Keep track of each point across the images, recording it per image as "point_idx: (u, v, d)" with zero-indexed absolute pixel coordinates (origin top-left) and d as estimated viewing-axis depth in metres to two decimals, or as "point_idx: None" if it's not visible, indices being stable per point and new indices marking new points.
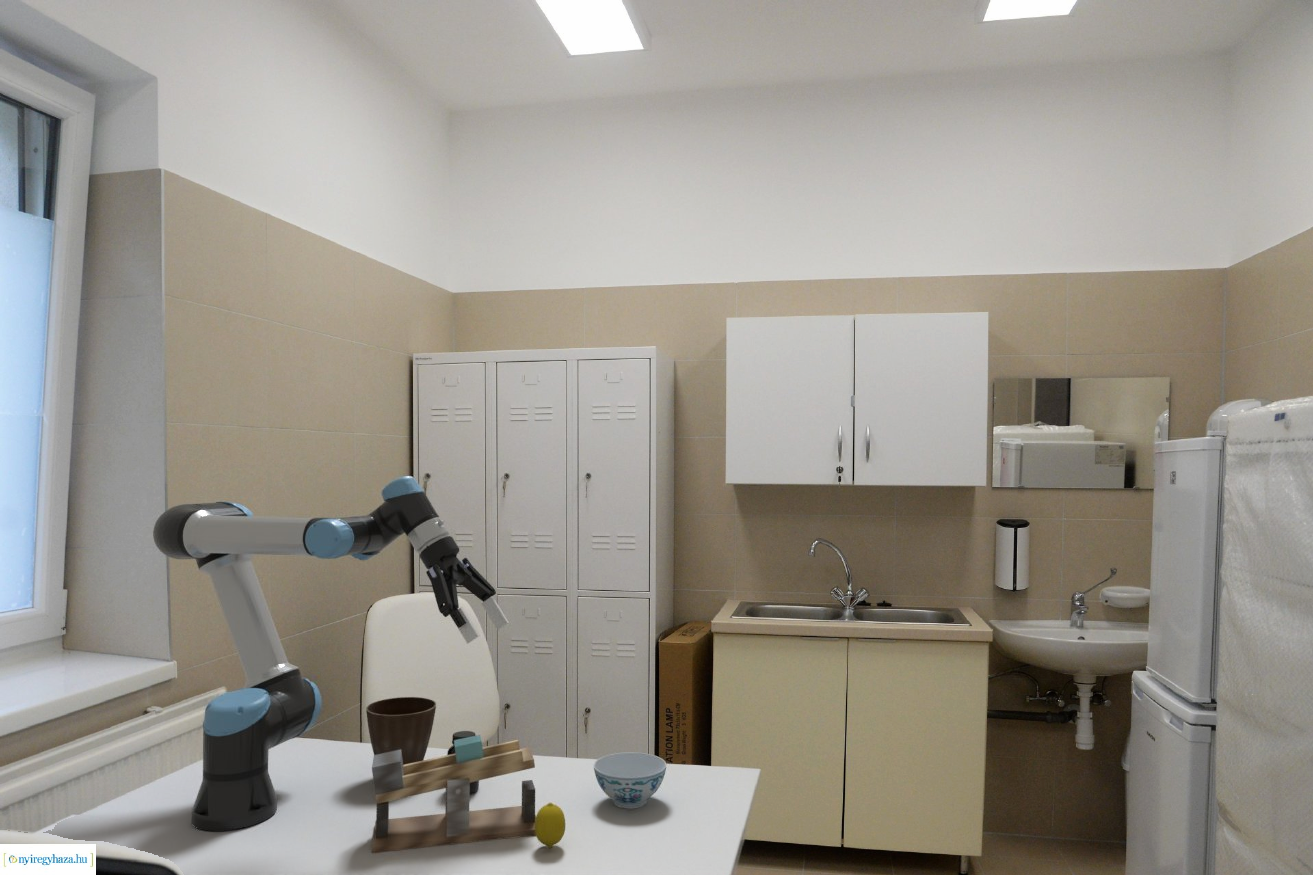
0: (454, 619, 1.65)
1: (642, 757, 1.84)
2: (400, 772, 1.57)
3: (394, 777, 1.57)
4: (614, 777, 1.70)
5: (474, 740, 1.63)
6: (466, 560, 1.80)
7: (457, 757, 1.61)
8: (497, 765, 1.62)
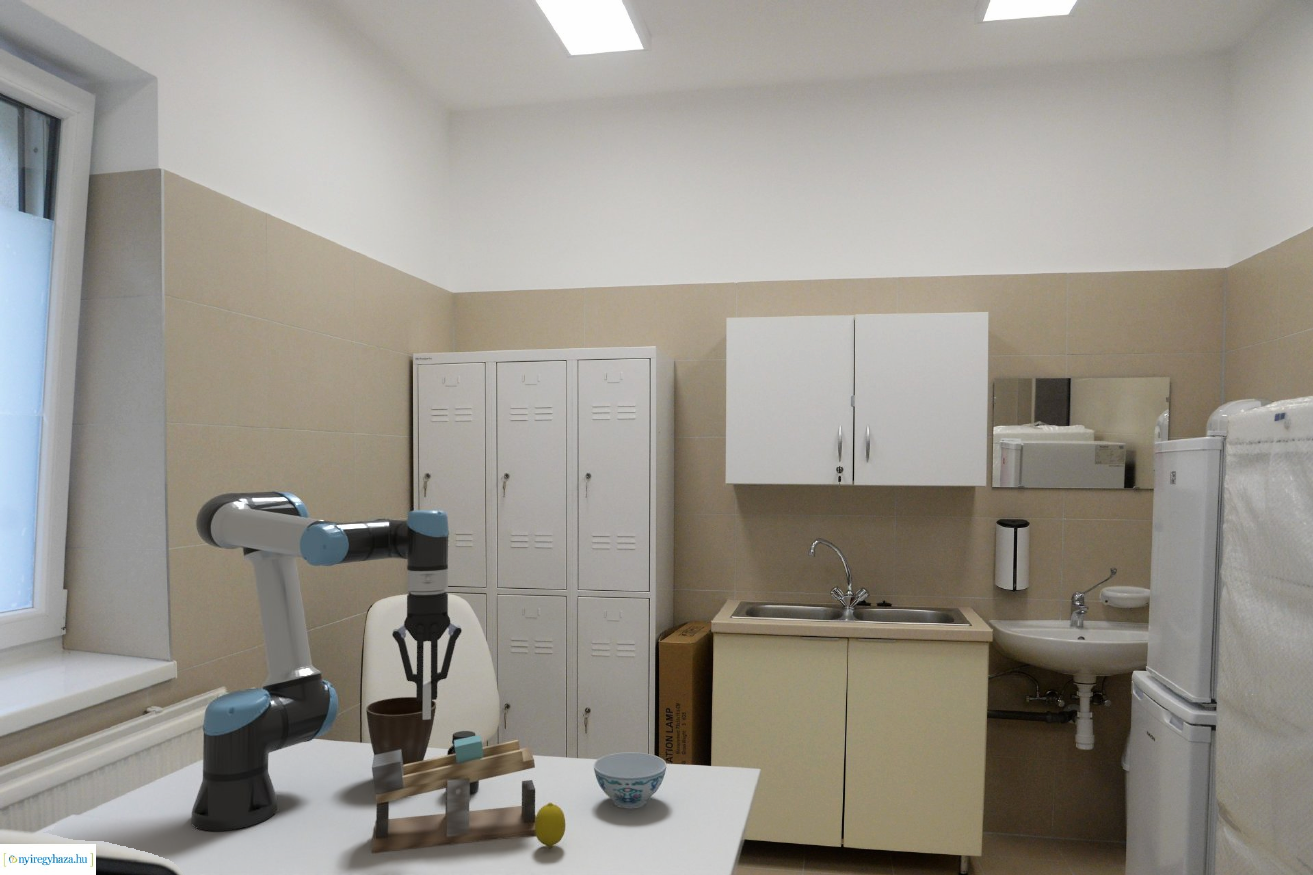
0: None
1: (642, 757, 1.84)
2: (400, 772, 1.57)
3: (394, 777, 1.57)
4: (614, 777, 1.70)
5: (474, 740, 1.63)
6: (456, 630, 1.63)
7: (457, 757, 1.61)
8: (497, 765, 1.62)
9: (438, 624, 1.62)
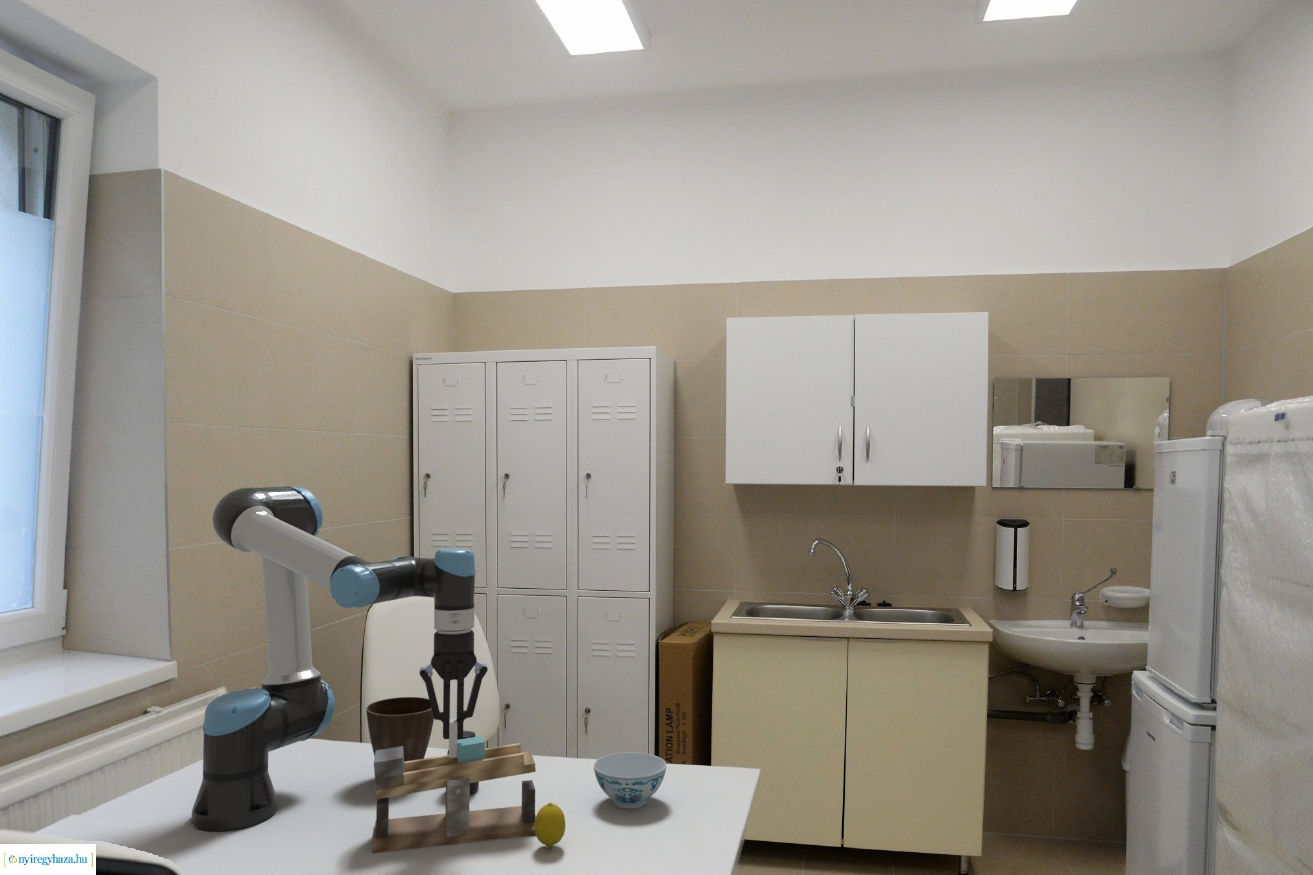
0: None
1: (642, 757, 1.84)
2: (401, 769, 1.57)
3: (395, 773, 1.57)
4: (614, 777, 1.70)
5: (476, 741, 1.63)
6: (483, 669, 1.64)
7: (459, 757, 1.61)
8: (498, 767, 1.62)
9: (465, 663, 1.63)
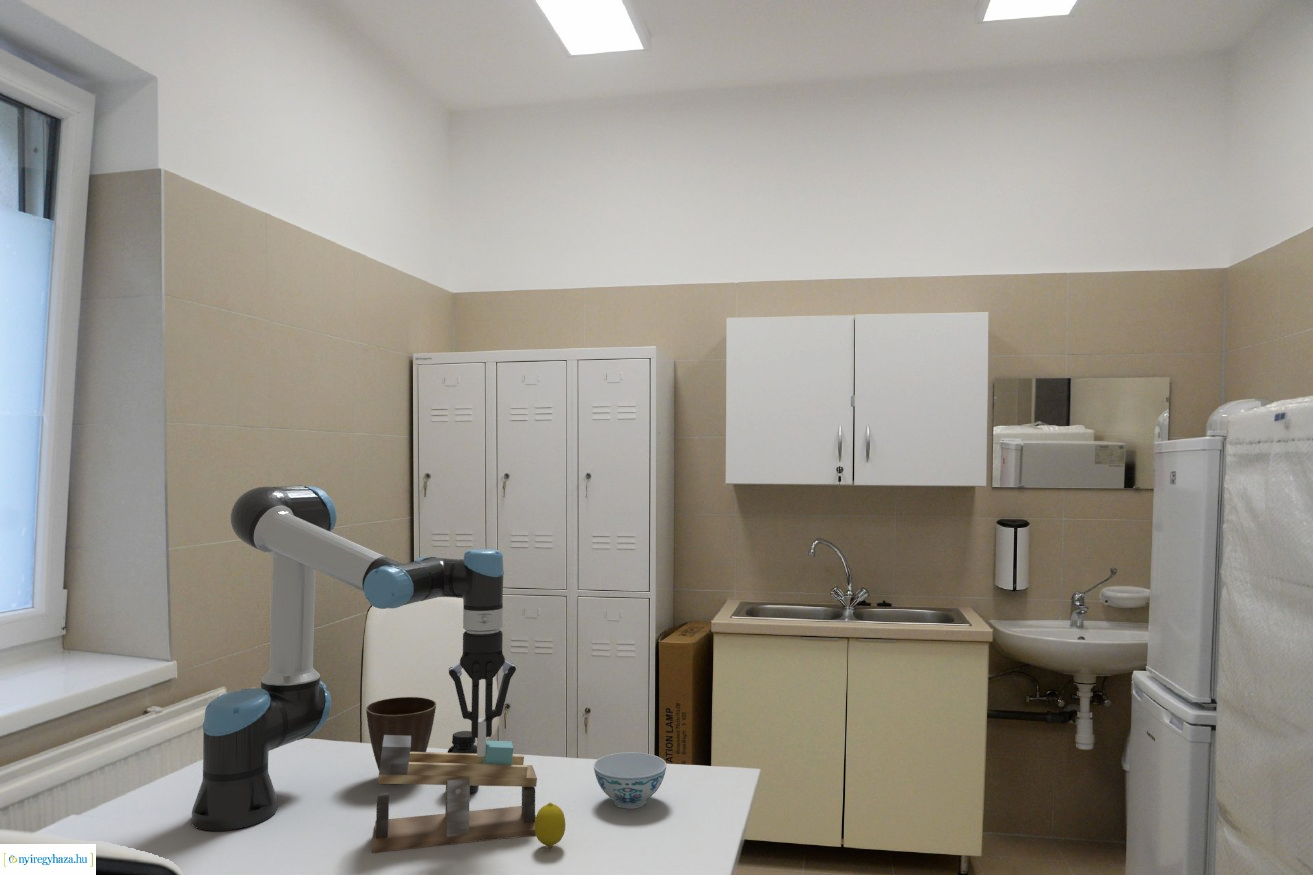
0: (471, 727, 1.64)
1: (642, 757, 1.84)
2: (408, 758, 1.57)
3: (401, 761, 1.57)
4: (614, 777, 1.70)
5: (506, 745, 1.65)
6: (511, 669, 1.65)
7: (487, 757, 1.63)
8: (501, 775, 1.62)
9: (493, 662, 1.64)
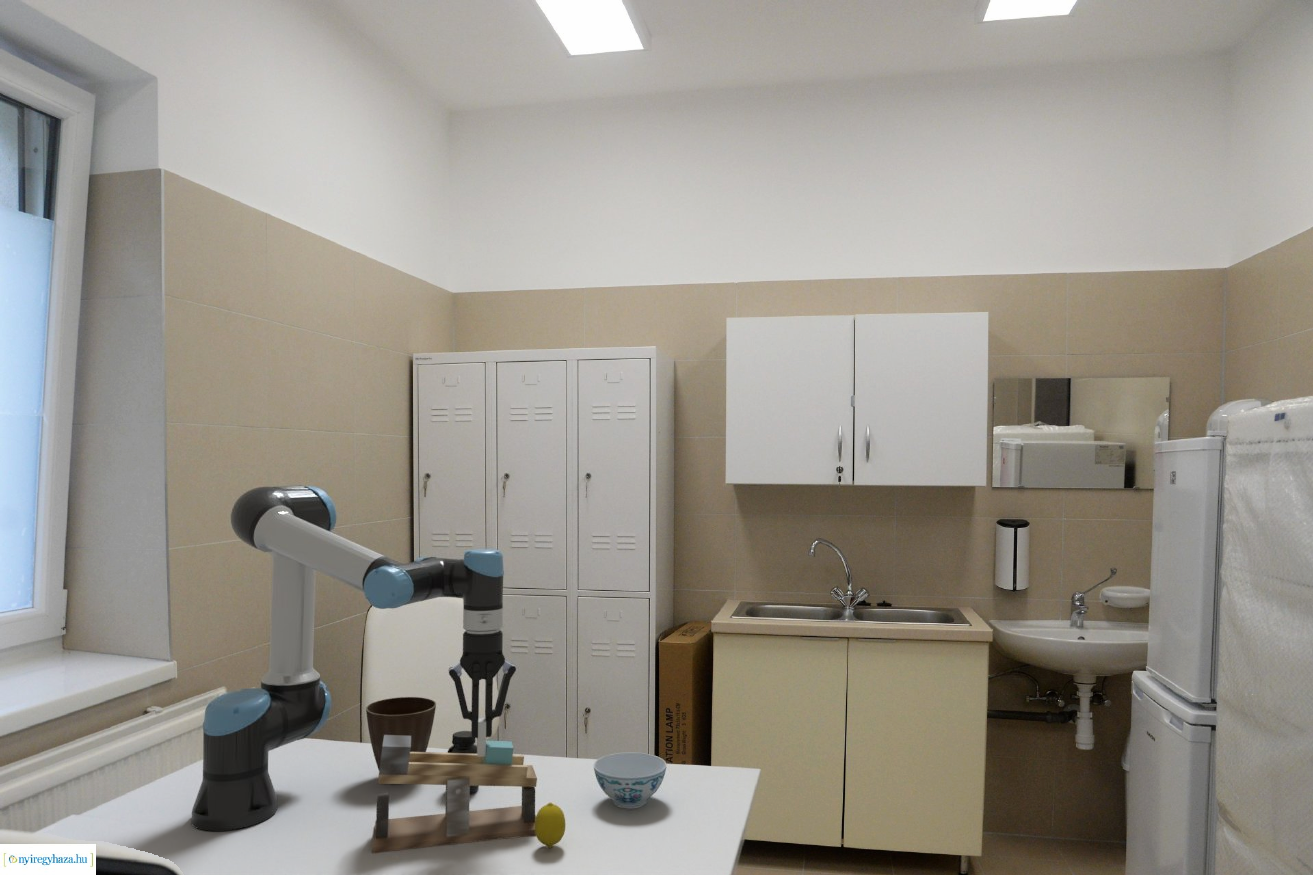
0: (471, 727, 1.64)
1: (642, 757, 1.84)
2: (408, 758, 1.57)
3: (401, 761, 1.57)
4: (614, 777, 1.70)
5: (506, 746, 1.65)
6: (511, 669, 1.65)
7: (487, 757, 1.63)
8: (501, 775, 1.62)
9: (493, 662, 1.64)
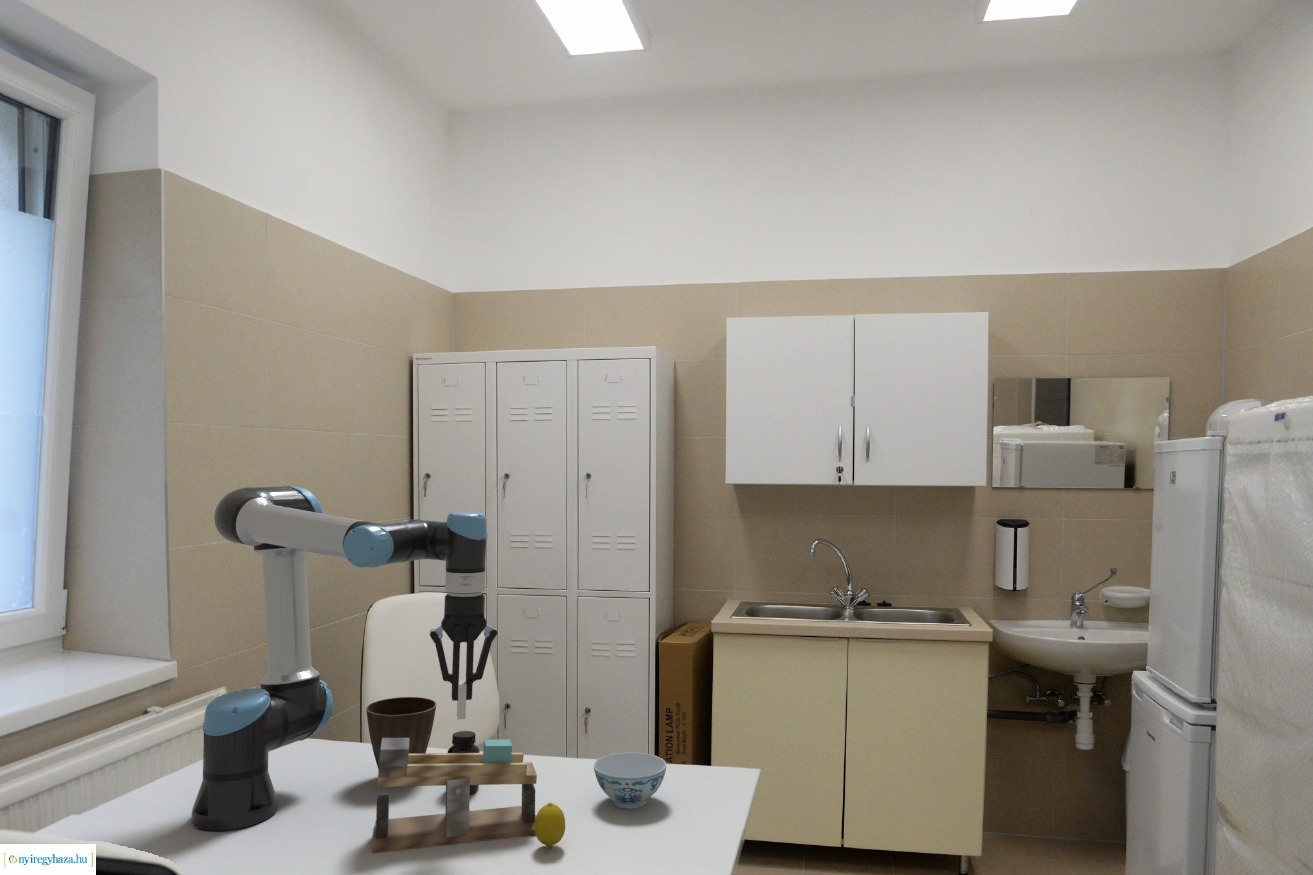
0: None
1: (642, 757, 1.84)
2: (406, 760, 1.57)
3: (399, 764, 1.57)
4: (614, 777, 1.70)
5: (505, 744, 1.65)
6: (492, 632, 1.65)
7: (486, 756, 1.63)
8: (500, 773, 1.62)
9: (475, 625, 1.64)
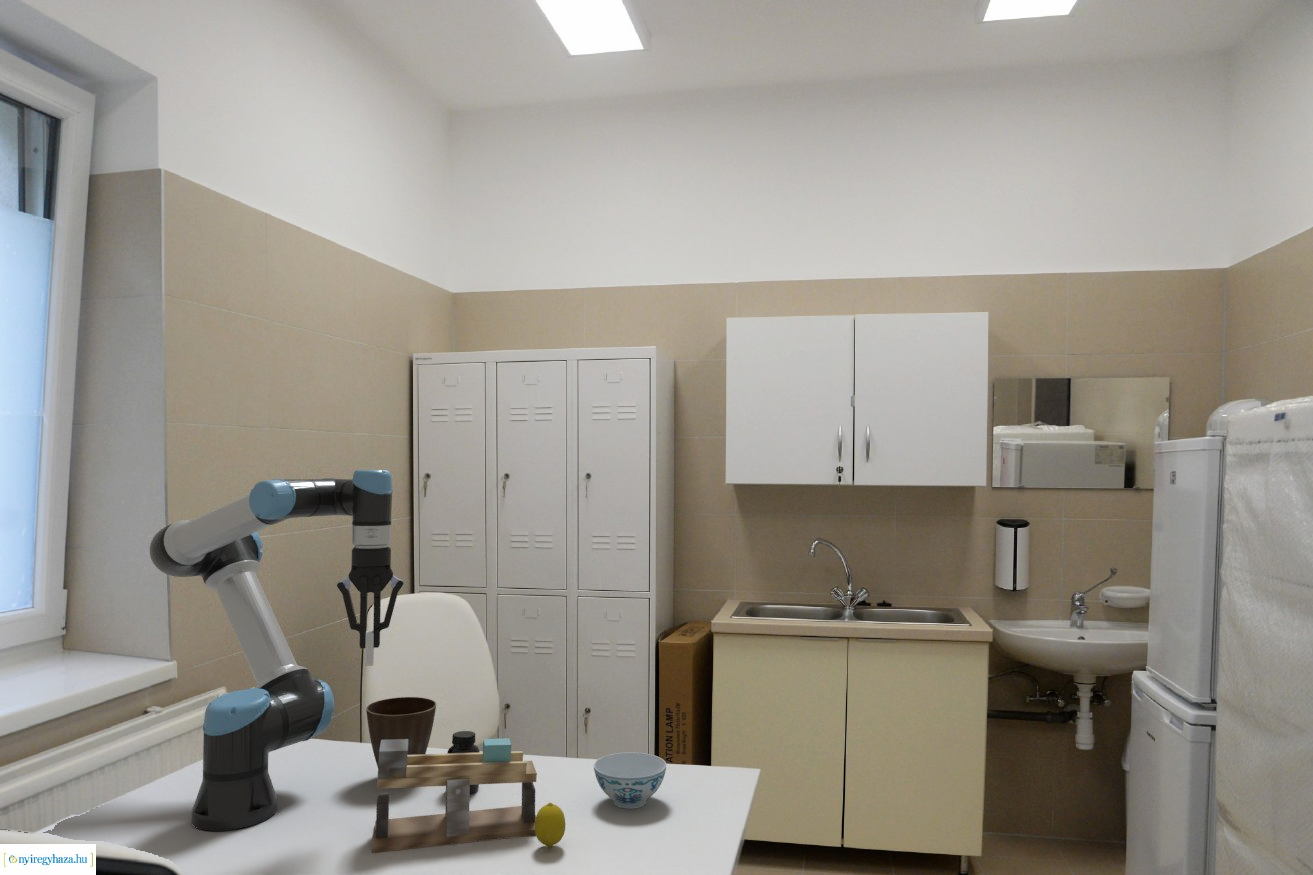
0: None
1: (642, 757, 1.84)
2: (405, 761, 1.57)
3: (399, 765, 1.57)
4: (614, 777, 1.70)
5: (504, 743, 1.65)
6: (398, 583, 1.73)
7: (485, 756, 1.63)
8: (500, 772, 1.62)
9: (381, 576, 1.72)
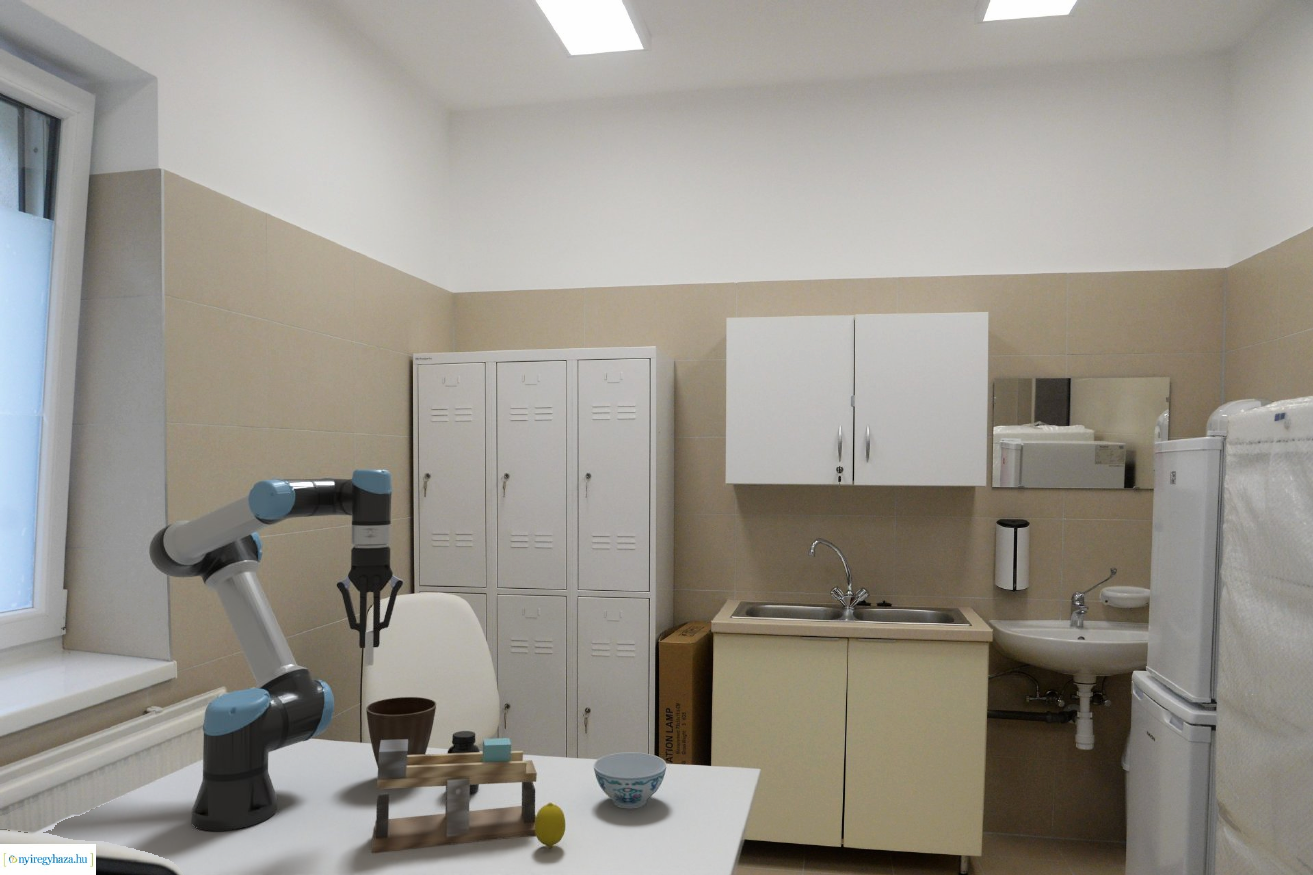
0: None
1: (642, 757, 1.84)
2: (405, 761, 1.57)
3: (398, 765, 1.57)
4: (614, 777, 1.70)
5: (504, 743, 1.65)
6: (398, 582, 1.73)
7: (485, 756, 1.63)
8: (500, 772, 1.62)
9: (380, 576, 1.72)
